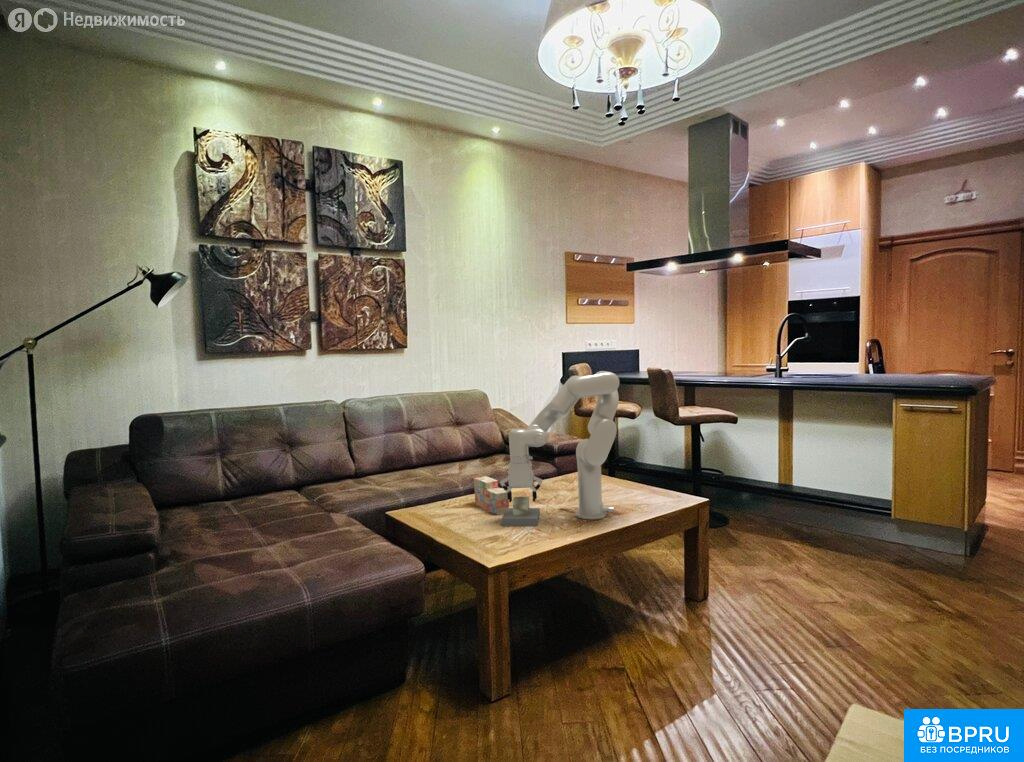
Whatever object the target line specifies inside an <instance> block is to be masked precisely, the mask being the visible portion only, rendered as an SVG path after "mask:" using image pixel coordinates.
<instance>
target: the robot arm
mask: <svg viewBox="0 0 1024 762" xmlns="http://www.w3.org/2000/svg"><path fill="white" fill-rule="evenodd" d="M619 387H620V378H619V377H618V376H617V374H616V373H614V372H611V371H607V370H606V371H605V370H600V371H597V372H596V373H595V374H591V375H571V376H570V377H569V378H568V379H567V380H566V381H565V383H564V384H563V385H562V387H560V389H559V390H558V392H557V393H556V394H555V395H554V397H553V398H552V399H551V400H550V402H549V403H548V404H546V406H545V407H544V408H543V409H542V410H541V411H540V412H539V413H537V415H536V416H535V418H534V419H533V420H532V422H531V423H530V424H529V426H528V427H527V428H526V429H525V428H512V429H510V430H509V431H508V443H509V445H508V446H509V458H510V462H509V463H508V469H507V470H508V475H507V476H506V477H505V478H503V479H502V480H500V481H499V484H500V486H501V488H502V489H504V490H505V491H506V492H507V496H508V500H509V503H512V502H513V494H512V489H521V488H522V489H524V488H530V489H531V490H532V493H531V494H532V502H533V503H534V502H536V500H537V499H538V496H537V495H538V494H537V492H538V490H539V488H540V487H541V486H542V483H543V479H542V478H540V477H537V476H536V475H534V469H533V465H532V464H533V463H532V461H531V460H533V456H532V455H530V454H529V447H532V448H533V447H534V448H539V447H542V446H544V445H545V444H546V443H547V442H548V433H547V432H548V431H549V429H550V428H551V427H552V426H553V424H555V423H556V422H558V421H559V420H561V419H563V418H565V417H566V416H568V414H569V413H570V412H571V411H572V410H573V408H574V407H575V405H576V404H577V403H578V401H579V400H580V399H582V398H583V399H584V398H585V399H586V398H592V397H593V398H594V397H597V401H596V404H595V408H594V409H593V412H592V415H591V417H590V419H589V421H588V424H587V431H588V433H589V434H590V436H589V438H584V439H581V440H580V441H579V442H578V444H577V445H576V449H575V457H576V465H577V485H578V486H577V488H578V491H577V492H578V509H577V510H576V511H575V512H574V513H575V517H577V518H578V519H582V520H601V519H603V518H606V516H607V512H610V513H611V512H612V513H613V512H614V506H611V505H605V504H604V503H603V496H602V493H603V491H602V488H603V487H602V467H601V466H602V465H603V464H604V463H605V462H606V460H607V458H608V455H609V454H610V451H611V449H612V446H613V444H614V442H615V439H616V436H617V429H618V428H617V424H616V422H615V421H614V417H615V416H616V412H617V409H618V407H619V402H620V401H619V400H620V396H619V392H618V388H619ZM507 482H508V486H507V485H506V484H505V483H507ZM535 482H537V484H536V485H535Z"/></svg>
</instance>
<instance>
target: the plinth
mask: <svg viewBox="0 0 1024 762" xmlns="http://www.w3.org/2000/svg"><path fill="white" fill-rule="evenodd" d="M539 516H541V508H540V507H529V514H528V515H513V507H509V508H506V510H505V512H504V514H502V516H501V527H538V525H539V524H538V523H539V521H538V520H540V517H539Z"/></svg>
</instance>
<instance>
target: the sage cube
mask: <svg viewBox="0 0 1024 762" xmlns="http://www.w3.org/2000/svg"><path fill="white" fill-rule="evenodd" d="M512 508H513V515H528V514H529V508H530V496H514V497H513V498H512Z"/></svg>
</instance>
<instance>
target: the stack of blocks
mask: <svg viewBox="0 0 1024 762" xmlns="http://www.w3.org/2000/svg"><path fill="white" fill-rule="evenodd" d="M473 482H474V483H473V486H474V487H473V488H474V489H473V490H474V491H473V492H474V502H475V503H476V504H477V506H478V505H479V506H478V507H480V506H481V507H480V508H482V509H484V508H485V509H484V510H487V511H488V510H489V511H488V512H490V513H491V514H494V515H496V516H498V515H499V514H500V515H504V512H505V510H506V508H510V507H509V506H510V502H509V500H508V496H507V492H506V491H505V490H504V489H503V488H502V487H500V486H499V480H498V479H495V478H492V477H490V476H488V475H484V476H478V477H477V476H476V477H474V478H473ZM476 504H475V505H476Z"/></svg>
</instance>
